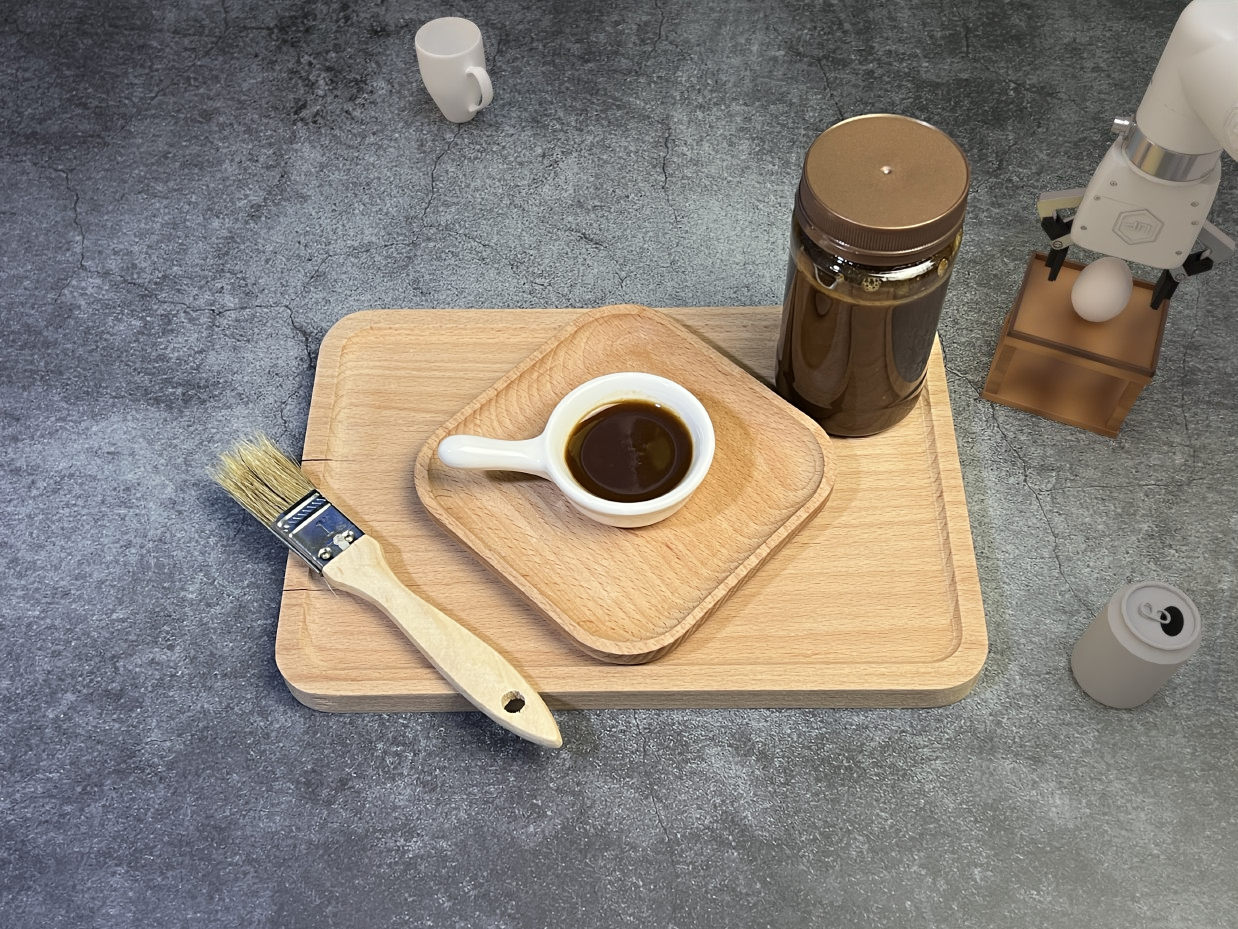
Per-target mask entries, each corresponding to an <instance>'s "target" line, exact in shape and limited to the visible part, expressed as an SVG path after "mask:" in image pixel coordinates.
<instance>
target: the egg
mask: <svg viewBox="0 0 1238 929" xmlns="http://www.w3.org/2000/svg"><path fill="white" fill-rule="evenodd" d="M1132 277H1133V274H1132V271H1131V269H1130V267H1129V265H1128V264H1127V263H1126V262H1125V261H1124V259H1121V258H1118V257H1114V256H1103V257H1101V258H1098V259H1096V260H1094V261H1092V262H1090V263H1089V264H1088V266H1086V267H1085V268H1084V269H1083V270H1082V271H1081V273H1080V274H1079V275H1078V277H1077V279H1076V280H1075V282H1074V285H1073V288H1072V294H1071V298H1072V304H1073V306H1074V309H1075V311H1076V312H1077V313H1078V314H1079V316H1081V317H1082V318H1083V319H1085V320H1088V321H1092V322H1102V321H1107V320H1109V319H1111V318H1114V317H1115V316H1117V315H1118V314H1119V313H1120V312H1121V311H1122V310H1123V309H1124V308H1125V307H1126V305H1127V303H1128V301H1129V299H1130V297H1131V294H1132V289H1133V280H1132Z"/></svg>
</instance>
